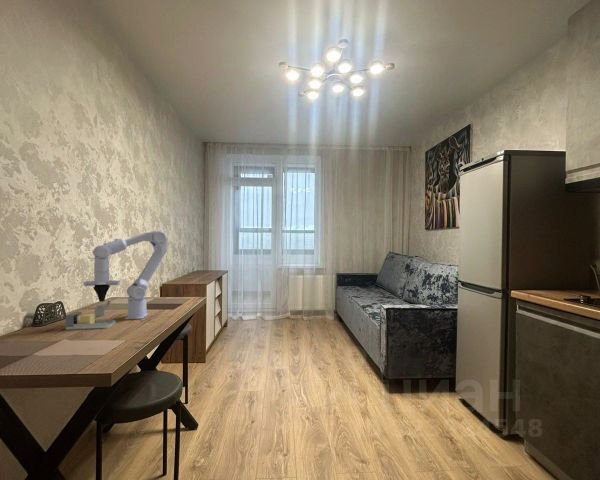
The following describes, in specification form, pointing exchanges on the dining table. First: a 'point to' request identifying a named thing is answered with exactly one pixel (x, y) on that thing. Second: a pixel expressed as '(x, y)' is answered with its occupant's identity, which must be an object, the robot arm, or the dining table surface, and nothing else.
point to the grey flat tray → (93, 324)
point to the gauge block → (86, 318)
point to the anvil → (72, 319)
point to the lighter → (101, 309)
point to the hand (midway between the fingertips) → (102, 301)
